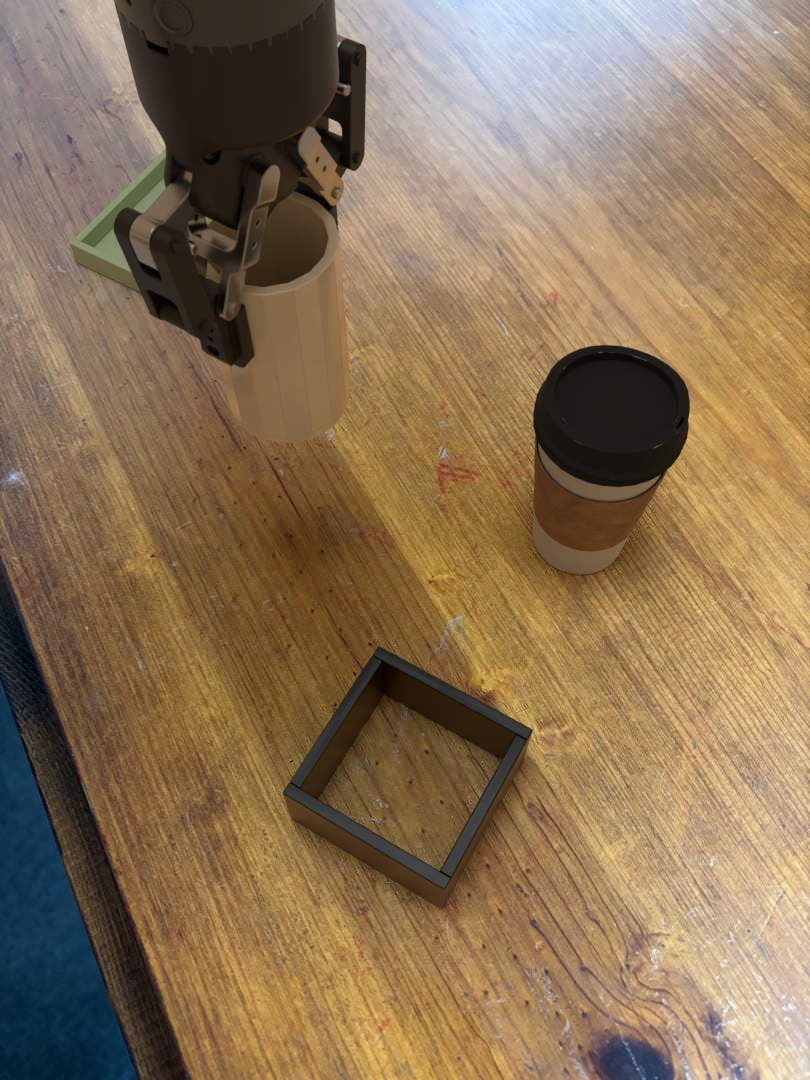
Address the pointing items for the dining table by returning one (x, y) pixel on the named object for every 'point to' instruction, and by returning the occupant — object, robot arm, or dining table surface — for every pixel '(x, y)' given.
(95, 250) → the tray
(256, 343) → the cup
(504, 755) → the open square frame
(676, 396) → the coffee cup
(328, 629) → the dining table surface
